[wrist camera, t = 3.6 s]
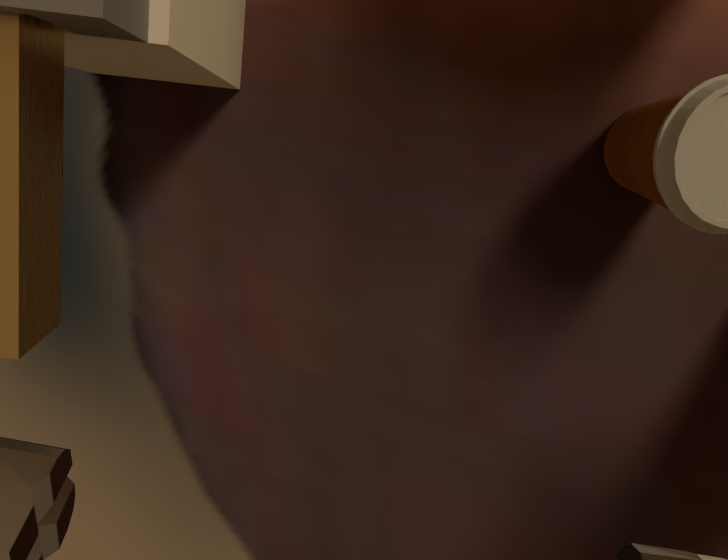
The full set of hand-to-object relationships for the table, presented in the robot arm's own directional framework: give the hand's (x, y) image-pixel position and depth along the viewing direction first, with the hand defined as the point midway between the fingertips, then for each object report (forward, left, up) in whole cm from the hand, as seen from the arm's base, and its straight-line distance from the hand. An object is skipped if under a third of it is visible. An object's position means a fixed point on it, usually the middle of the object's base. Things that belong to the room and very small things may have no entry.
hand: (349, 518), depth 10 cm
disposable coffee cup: (+6, -25, -42) cm, 49 cm away
